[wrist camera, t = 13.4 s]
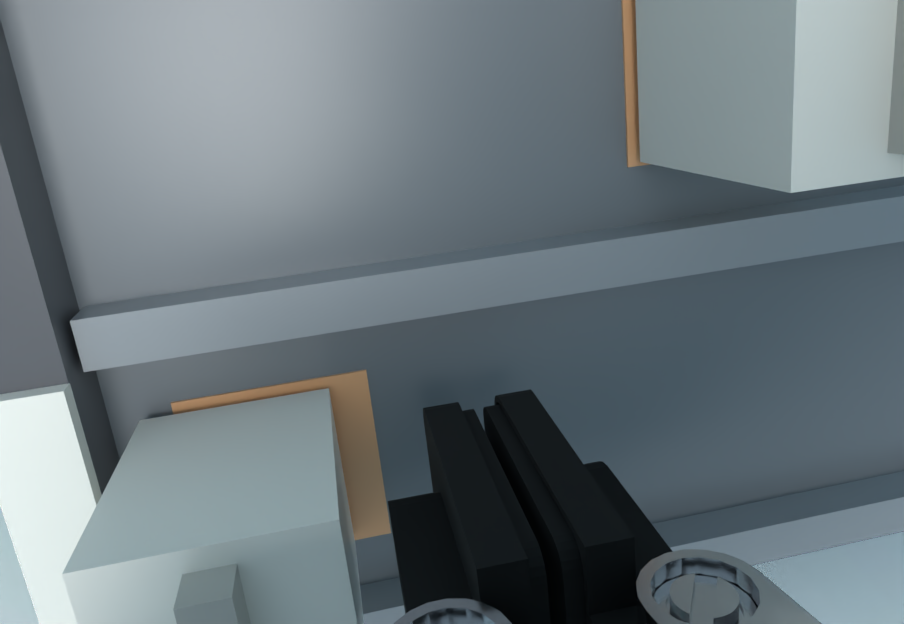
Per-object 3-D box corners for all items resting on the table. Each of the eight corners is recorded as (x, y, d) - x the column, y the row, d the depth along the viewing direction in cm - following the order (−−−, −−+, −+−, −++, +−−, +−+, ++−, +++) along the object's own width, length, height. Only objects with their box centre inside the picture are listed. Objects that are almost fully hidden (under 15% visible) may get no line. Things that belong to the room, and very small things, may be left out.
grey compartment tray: (1127, -614, 12) (1383, -833, 9) (993, 444, 18) (1125, 511, 15) (-265, -658, 9) (-527, -1001, 6) (115, 627, 15) (70, 755, 12)
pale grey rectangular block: (328, 387, 12) (341, 550, 8) (355, 543, 13) (379, 765, 9) (139, 420, 12) (44, 610, 7) (180, 578, 13) (115, 830, 8)
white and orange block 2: (813, -55, 12) (1113, -143, 7) (806, 139, 13) (1069, 164, 8) (634, -38, 11) (840, -121, 7) (640, 162, 12) (825, 199, 8)
